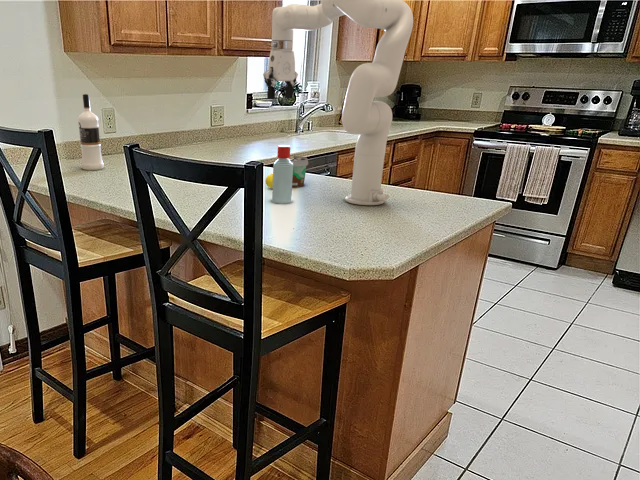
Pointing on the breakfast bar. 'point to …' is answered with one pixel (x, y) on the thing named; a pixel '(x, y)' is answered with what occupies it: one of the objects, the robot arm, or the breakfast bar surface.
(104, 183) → the breakfast bar surface
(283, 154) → the cap
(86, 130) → the vodka
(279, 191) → the bottle
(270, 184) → the lemon
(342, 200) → the breakfast bar surface
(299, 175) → the food container
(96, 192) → the breakfast bar surface
